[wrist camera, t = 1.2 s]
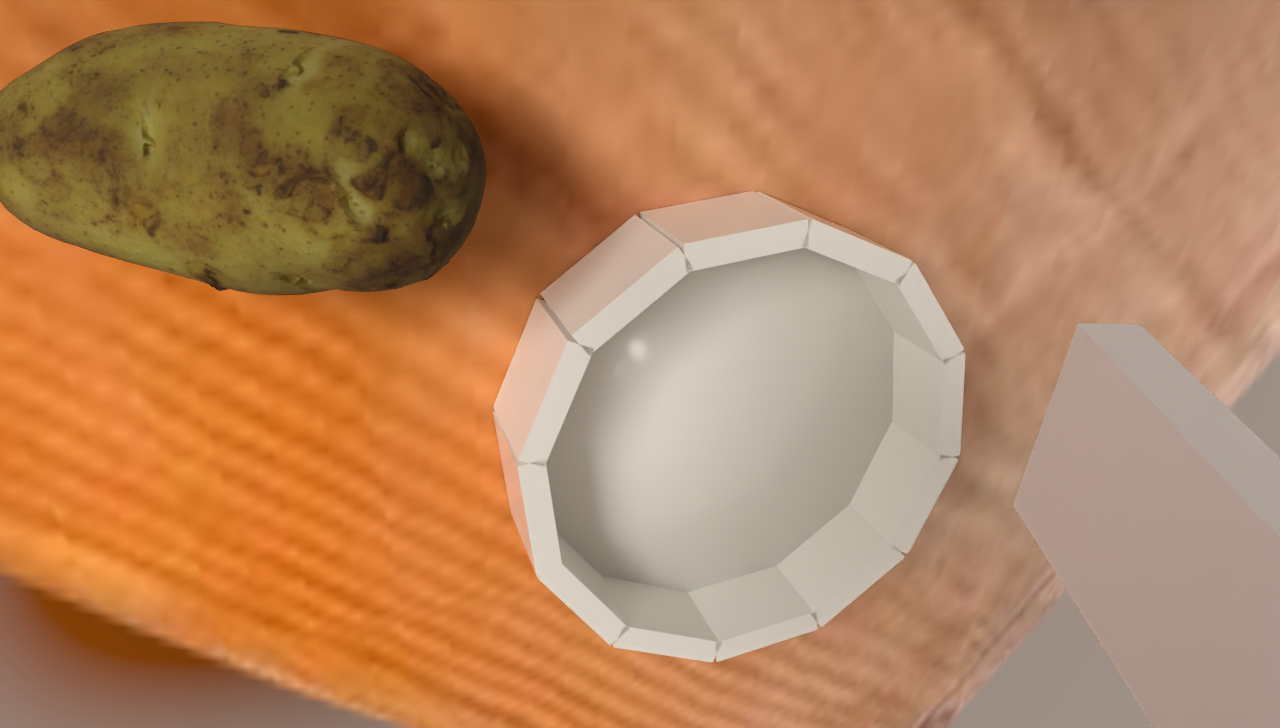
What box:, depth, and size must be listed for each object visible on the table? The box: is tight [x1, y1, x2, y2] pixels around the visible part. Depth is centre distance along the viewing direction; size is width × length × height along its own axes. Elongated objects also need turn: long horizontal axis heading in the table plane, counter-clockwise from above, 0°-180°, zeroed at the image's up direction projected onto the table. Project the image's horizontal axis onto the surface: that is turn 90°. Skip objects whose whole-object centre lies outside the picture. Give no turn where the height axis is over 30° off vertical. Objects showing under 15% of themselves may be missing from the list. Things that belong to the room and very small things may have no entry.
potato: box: [0, 22, 486, 295], centre depth 27 cm, size 8×13×8 cm, turn 66°
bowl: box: [493, 191, 966, 662], centre depth 38 cm, size 18×18×4 cm
